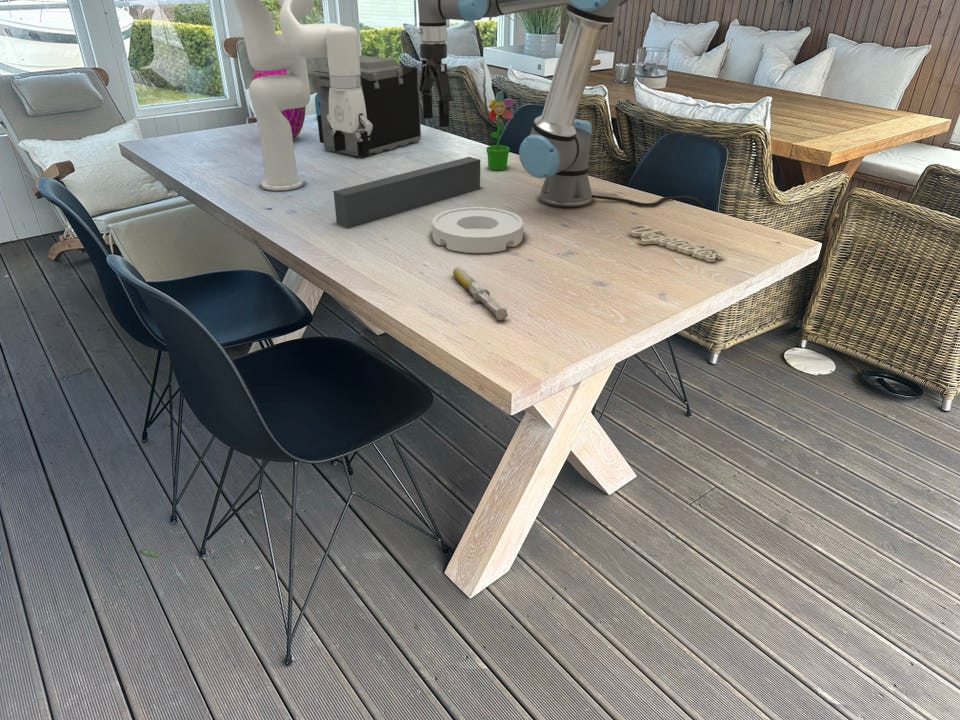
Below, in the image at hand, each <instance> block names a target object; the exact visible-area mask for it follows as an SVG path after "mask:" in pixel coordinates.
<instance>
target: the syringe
mask: <svg viewBox="0 0 960 720" xmlns="http://www.w3.org/2000/svg"><path fill="white" fill-rule="evenodd" d="M452 274H453V277H454V279H455V280H457V281H458V282H459V283H460V285H462V287H464V289H466V290H467V291H468V293H470V295H471V296H472V298H473V300H474V302H477V303H478V302H480V303H482V304H483V305H484V306H485V307H486V308H487V309H488V310H489V311H490V312H491V313H492V314H493V315H494V316H495V317H496V320H497V321H503V320H504V319H506V318H507V317H509V314H508V310H507V308H506V307H502V306H501V305H500V303H498V302H497V301H496V300H494V299H493V298H492V297H491V296H490V295H491V293H490V290H488V289H486V288H483V287H482V286H481V285H480V284H479V283H478V282H477V281H476V280H474V278H473V277H471V275H469V274H468V273H467V272H466V270H465V269H464V268H463V267H462V266H456V267H454V268H453V271H452Z"/></svg>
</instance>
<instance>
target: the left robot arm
mask: <svg viewBox="0 0 960 720" xmlns="http://www.w3.org/2000/svg"><path fill="white" fill-rule="evenodd" d="M275 1H276V2H277V3H278V5H279V6H280V9H279V10H280V11H279V17H278V18H279V19H278V21H279V28H280V32H279V33H277V32H276V29H275V26H274V24H275V23H274V18H273V15H272V13H271V11H270V10H269V9H268V7H267V5H266V4H265V3H264V2H263V1H262V0H233V2H234V5H235V8H236V10H237V11H238V12H237V13H238V15H239V17H240V22H241V26H242V33H243V38H244V43H245V49H246V51H247V52H246V53H247V58H248V61H249V63H250V66H251V67H252V68H253V70H259V71H272V70H283V69H286V71H287V74H286V75H273V76H264V77H259V78H257V79H255V80H253V81H252V80H251V82H250V84H249V87H248V93H249V97H250V101H251V104H252V107H253V110H254V114H255V119H256V123H257V129H258V135H259V143H260V149H261V156H262V164H263V173H264V176H265V179H263V180H262V181H261V183H260V184H261V188H262V189H264V190H267V191H276V192H279V191H280V192H281V191H291V190H295V189H298V188H301V187H302V186H303V185H304V180H303V178H301V177H299V176H298V171H297V161H296V154H295V145H294V138H293V137H292V130H291V125H290V123H289V121H288V120H287V119H286V118H285V117H284V116H283V114H282V113H281V111H282V110H286V109H294V108H301V107H305V106H308V105H309V103H310V102H311V86H310V81H309V80H310V79H309V73H308V67H307V61H306V60H309V59H310V60H311V59H320V58H327V64H328V73H329V76H330V86H331V87H330V89H329V114H328V115H327V119H328V122H329V127H330V128H331V130H332V131H331V133H332V135H334V136H333V139H334V149H335V151H342V150H345V149H346V145H345V134H342V133H343V132H346V133H355V135H356V137H357V139H358V140H359V141H358V142H357V150H358V157H357V158H359V159H363V158H368V157H369V156H370V154H369V142H368V140H370V136H371V134H372V133H371V132H372V128H373V125H372V123H371V122H370V121H369V120H368V119H367V115H366V107H365V101H364V96H363V92H362V85H361V72H360V59H359V56H360V46H359V33H358V31H357V29H356V28H355V27H353V26H348V25H343V24H341V23H337V22H328V23H303V24H302V23H300V22H299V21H300V20H302V19H304V18H305V17H306V16H307V15H308V14H309V13H310V12H311V11H312V9H313V7H314V3H315V0H275ZM361 132H362V133H363V134H362V135H361V134H360V133H361Z"/></svg>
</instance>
